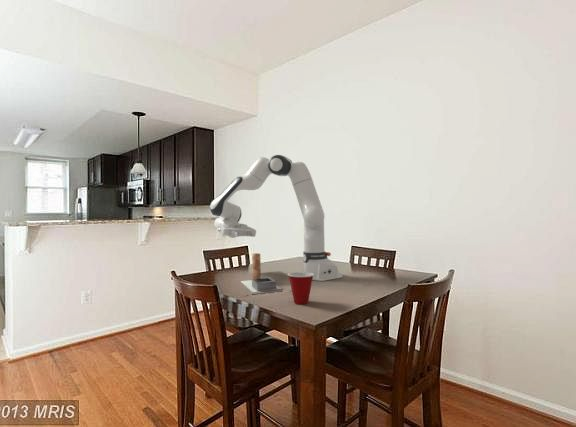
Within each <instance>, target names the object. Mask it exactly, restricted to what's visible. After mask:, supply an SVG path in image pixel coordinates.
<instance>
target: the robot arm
mask: <svg viewBox="0 0 576 427" xmlns="http://www.w3.org/2000/svg"><path fill="white" fill-rule="evenodd" d="M270 175H275V176H279V177H287V176H288V177H289V180H290V181H291V184H292V187H293V190H294V193H295V196H296V199H297V202H298V206H299V208H300V209H299V210H300V211H301V214H302V218H303V252H302V253H303V257H302V258H303V268H302V273H313V274H314V276H313V279H312V281H318V282H323V281H330V280H336V279H342V278H343V277H344V276H343V274H342V273H339V268H338V265H337V264H336V263H335V262H333V261H332V260H331V259H330V258H328V257H331V256H332V254H331V252H327V251H325V212H324V209H323V206H322V204H321V201H320V198H319V196H318V193H317V190H316V186H315V184H314V180H313V177H312V175H311V173H310V170H309V168H308V166H307V165H306V163H304V162H303V161H296V162H292V160H291V158H289V157H287V156H285V155H281V154H275V155H272V156H271V157H270V158H267V157H266V156H260V157H258V158H257V159H256V160H255V161H254V162H253V163H252V165H251V166H249V168H248V170H247V171H246V172H245V173H244V174H243V175H241V176H237V177H235V178H234V179H233V180H232V181H231V182H230V183H229V184H228V185H227V187H225V189H224V190H222V192H221V193H220V194H218V196H217V197H216V198H214V199H213V200H212V201H211V202H210V205H209V210H210V213H211V214H212V215H213V216H216V217H217V218H216V219H215V220H214V223H213V224H214V228H215V230H216V231H217V232H219V234H221V235H223V236H226V237H229V238H232V239H233V238H237V237H239V238H240V237H251V238H253V237H256V234H257V230H256V229H255V228H252V227H251V226H248V225H247V224H244V223H241V222H240V221H241V218H242V214H243V213H242V209H241V207H240V206H239V205H237V204H234V203H231V202H229V200H230V199H231V198H232V197H233V196H234V194H235V193H236V192H240V191H256V190H259V189H260V188H261V187H262V186H263V185H264V183H265V182H266V180H267V179H268V178H269V176H270ZM239 222H240V223H239Z"/></svg>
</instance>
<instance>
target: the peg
mask: <svg viewBox="0 0 576 427" xmlns="http://www.w3.org/2000/svg"><path fill="white" fill-rule="evenodd" d="M251 258H252V259H251V260H252V262H251V263H252V264H251V265H252V266H251V269H252V279H258V278H262V277H261V274H262V273H261V270H262V269H261V265H262V264H261V253H252V255H251Z"/></svg>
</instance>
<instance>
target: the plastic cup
mask: <svg viewBox="0 0 576 427" xmlns="http://www.w3.org/2000/svg"><path fill="white" fill-rule="evenodd" d="M287 276H288V277H289V278H288V280H289V282H290V288H291V292H292V293H291V295H292V298H293V299H292V300H293V302H294V304H295V305H307V304H308V303H309V301H310V295H311V288H312V282H313V280H312V279H313V276H314V274H313V273H303V271H302V272H289V273H287Z"/></svg>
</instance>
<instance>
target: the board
mask: <svg viewBox="0 0 576 427" xmlns="http://www.w3.org/2000/svg"><path fill="white" fill-rule="evenodd" d="M240 282H241V283H242V284H243V286H244V287H246V288H247V289H248V290H249V291H250V292H251V294H252V295H251V296H258V294H260V295H266V293H268V294H274V293H275V292H277V293H282V292H283V291H282V290H283V289H282V287H280V286H279V285H277V281H276V280H275V279H274V278H272V277H270V276H267V277H261V278H258V279H253V278H252V279H250V280H241V281H240ZM281 289H282V290H281ZM274 290H275V291H274ZM267 291H268V292H267ZM256 292H257V293H256Z"/></svg>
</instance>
